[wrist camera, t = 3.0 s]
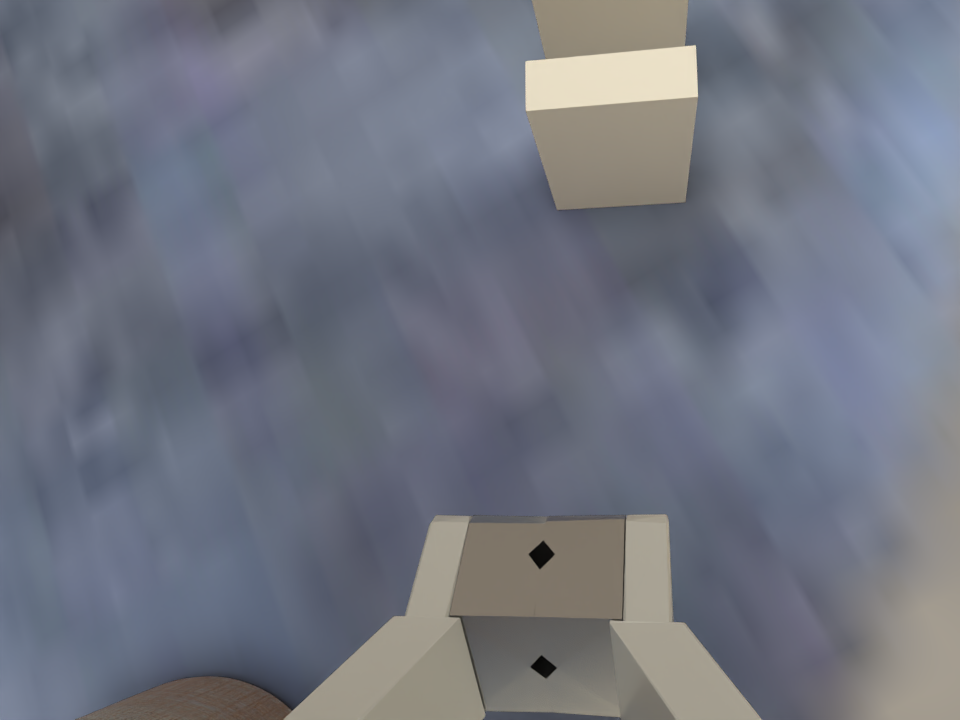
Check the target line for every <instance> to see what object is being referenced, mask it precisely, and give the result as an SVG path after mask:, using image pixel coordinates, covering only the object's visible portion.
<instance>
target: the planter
mask: <svg viewBox="0 0 960 720" xmlns="http://www.w3.org/2000/svg"><path fill="white" fill-rule="evenodd" d="M291 712H292V710H291V709H290V708H289V707H288V706H287V705H286V704H284V703H283V702H282V701H281V700H279V699H278V698H276V697H275V696H273V695H272V694H270V693H269V692H267V691H265V690H263V689H261V688H259V687H257V686H254V685H252V684H249V683H246V682H244V681H240V680H236V679H233V678H226V677H215V676H202V677H193V678H184V679H179V680H175V681H171V682H168V683H165V684H162V685H160V686H157V687H154V688H152V689H149V690H147V691H144V692H142V693H139V694H137V695H134V696H132V697H129V698H127V699H124V700H122V701H119V702H117V703H115V704H112V705H110V706H107V707H105V708H103V709H100V710H98V711H95V712H93V713H90V714H88V715H85V716H83V717H81V718H78V719H76V720H283V719H284V718H285V717H286V716H288V715H289V714H290V713H291Z"/></svg>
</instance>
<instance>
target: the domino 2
mask: <svg viewBox="0 0 960 720" xmlns="http://www.w3.org/2000/svg"><path fill="white" fill-rule="evenodd" d="M697 100H698V86H697V61H696V45H694V46H683V47H673V48H662V49H651V50H641V51H630V52H619V53H609V54H598V55H587V56H577V57H566V58H555V59H545V60H534V61H526V113H527V116H528V120H529V123H530V126H531V129H532V132H533V135H534V139H535V142H536V145H537V148H538V151H539V154H540V158H541V161H542V164H543V167H544V170H545V173H546V176H547V180H548V183H549V186H550V189H551V192H552V195H553V199H554V202H555V205H556V208H557V210H567V209H584V208H600V207H617V206H633V205H650V204H666V203H683V202H685V201H686V193H687V184H688V176H689V168H690V159H691V151H692V142H693V134H694V126H695V117H696V109H697Z"/></svg>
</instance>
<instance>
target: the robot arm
mask: <svg viewBox="0 0 960 720" xmlns="http://www.w3.org/2000/svg"><path fill="white" fill-rule="evenodd" d="M485 711H506V712H554V713H568V714H582V715H595V716H609V717H621V720H762V719H761V718H760V716H759V715H758V714H757V713H756V711H755V710H754V709H753V708H752V706H751V705H750V704H749V703H748V701H747V700H746V699H745V698H744V696H743V695H742V694H741V693H740V691H739V690H738V689H737V688H736V686H735V685H734V684H733V683H732V681H731V680H730V679H729V678H728V676H727V675H726V674H725V673H724V671H723V670H722V669H721V668H720V666H719V665H718V664H717V663H716V661H715V660H714V659H713V658H712V656H711V655H710V654H709V653H708V651H707V650H706V649H705V648H704V646H703V645H702V644H701V643H700V641H699V640H698V639H697V638H696V636H695V635H694V634H693V633H692V631H691V630H690V629H689V628H688V626H687V625H686V624H685V623H681V622H674V619H673V599H672V578H671V558H670V537H669V520H668V516H667V515H666V514H663V515H627V518H626V515H585V516H549V517H537V516H490V515H473V516H456V515H436V516H435V517H434V519H433V520H432V522H431V523H430V525H429V528H428V532H427V536H426V539H425V543H424V547H423V550H422V554H421V558H420V561H419V565H418V569H417V572H416V576H415V580H414V584H413V587H412V591H411V595H410V598H409V602H408V606H407V609H406V613H405V616H393V617H392V618H391V619H390V620H389V621H388V622H387V623H386V624H385V625H384V626H383V627H381V628H380V629H379V630H378V631H377V632H376V633H375V634H374V635H373V636H372V637H371V638H370V639H369V640H368V641H367V642H365V643H364V644H363V645H362V646H361V647H360V648H359V649H358V650H357V651H356V652H355V653H354V654H353V655H352V656H351V657H349V658H348V659H347V660H346V661H345V662H344V663H343V664H342V665H341V666H340V667H339V668H338V669H337V670H336V671H334V672H333V673H332V674H331V675H330V676H329V677H328V678H327V679H326V680H325V681H324V682H323V683H322V684H321V685H320V686H318V687H317V688H316V689H315V690H314V691H313V692H312V693H311V694H310V695H309V696H308V697H307V698H306V699H305V700H304V701H302V702H301V703H300V704H299V705H298V706H297V707H296V708H295V709H294V710H293V711H292V712H291V713H290V714H289V715H288V716H286V717H285V718H284V719H283V720H483V718H484V717H485V716H486V715H485Z"/></svg>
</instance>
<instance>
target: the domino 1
mask: <svg viewBox="0 0 960 720" xmlns="http://www.w3.org/2000/svg"><path fill="white" fill-rule="evenodd" d="M532 3H533V7H534V11H535V15H536V20H537V24H538V28H539V32H540V37H541V41H542V45H543V50H544V54H545V58H546V59H555V58H566V57H577V56H587V55H598V54H609V53H619V52H630V51H641V50H651V49H662V48H673V47H683V46H685V37H686V24H687V11H688V0H532Z"/></svg>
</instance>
